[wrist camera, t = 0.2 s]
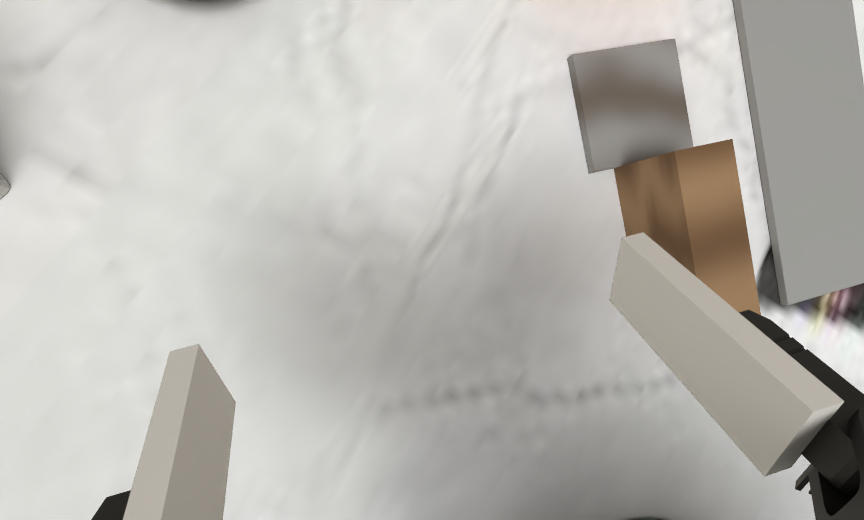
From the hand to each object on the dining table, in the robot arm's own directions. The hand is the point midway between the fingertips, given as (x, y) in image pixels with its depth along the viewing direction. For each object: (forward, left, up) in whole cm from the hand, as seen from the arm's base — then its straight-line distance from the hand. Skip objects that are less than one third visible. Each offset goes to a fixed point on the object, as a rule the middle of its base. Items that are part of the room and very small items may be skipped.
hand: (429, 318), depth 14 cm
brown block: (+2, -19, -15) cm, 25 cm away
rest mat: (+3, -34, -15) cm, 38 cm away
